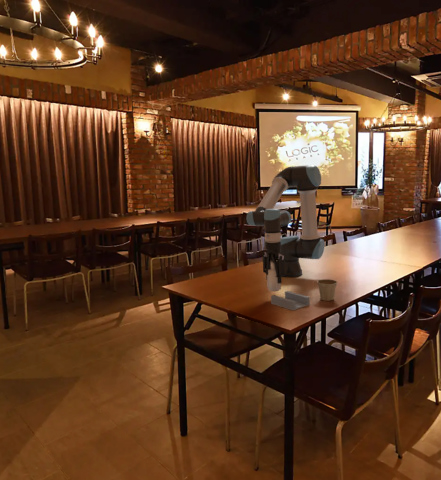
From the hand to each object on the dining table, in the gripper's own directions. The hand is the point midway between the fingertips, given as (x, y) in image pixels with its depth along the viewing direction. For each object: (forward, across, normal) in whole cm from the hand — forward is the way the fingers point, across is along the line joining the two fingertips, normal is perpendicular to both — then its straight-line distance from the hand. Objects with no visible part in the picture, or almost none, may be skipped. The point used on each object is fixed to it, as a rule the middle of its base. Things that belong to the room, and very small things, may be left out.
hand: (274, 288), depth 191 cm
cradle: (+6, +10, 0) cm, 12 cm away
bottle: (+1, 0, 0) cm, 1 cm away
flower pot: (+6, +17, +18) cm, 26 cm away
